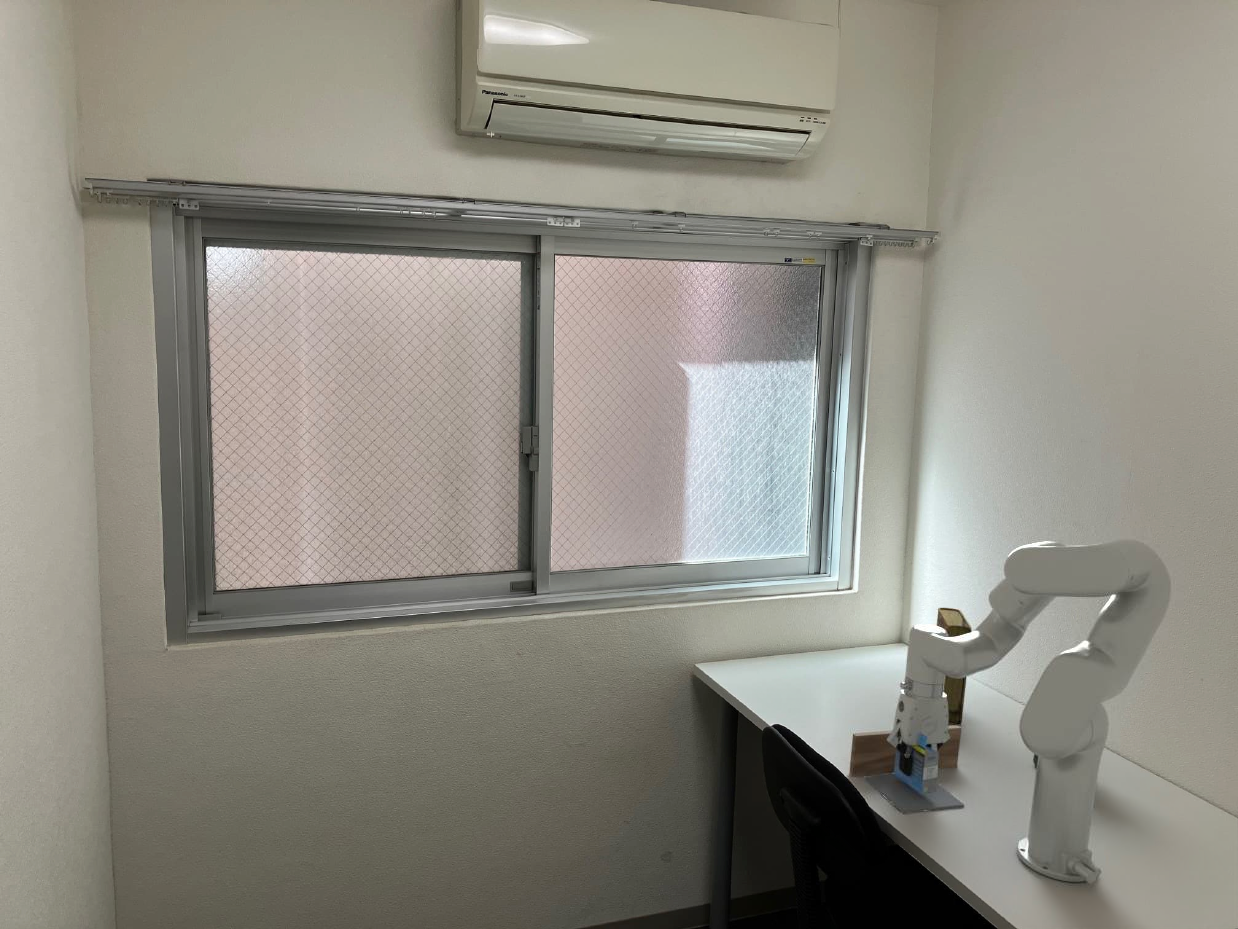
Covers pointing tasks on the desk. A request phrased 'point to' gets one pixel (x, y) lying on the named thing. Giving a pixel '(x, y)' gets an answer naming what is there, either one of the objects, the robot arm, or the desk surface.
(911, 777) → the label tape box
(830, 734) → the desk surface
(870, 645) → the desk surface
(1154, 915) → the desk surface
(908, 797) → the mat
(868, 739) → the walnut screen
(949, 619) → the book
